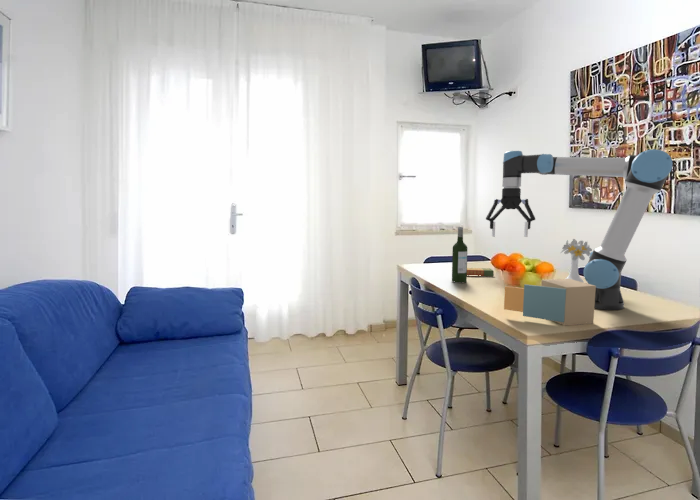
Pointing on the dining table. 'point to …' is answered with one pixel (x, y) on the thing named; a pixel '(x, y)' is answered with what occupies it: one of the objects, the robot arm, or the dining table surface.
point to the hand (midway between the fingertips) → (509, 236)
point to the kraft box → (575, 300)
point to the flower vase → (576, 257)
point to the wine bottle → (459, 259)
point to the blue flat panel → (536, 301)
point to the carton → (480, 271)
